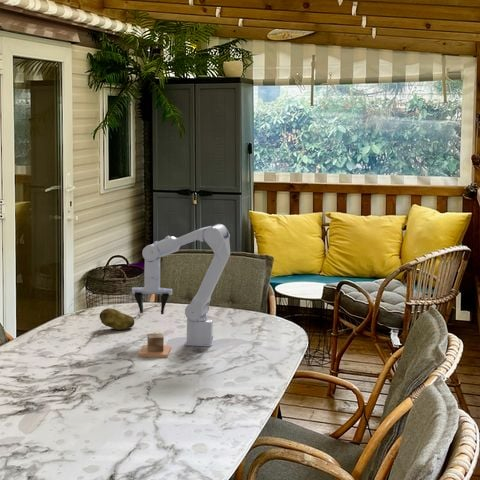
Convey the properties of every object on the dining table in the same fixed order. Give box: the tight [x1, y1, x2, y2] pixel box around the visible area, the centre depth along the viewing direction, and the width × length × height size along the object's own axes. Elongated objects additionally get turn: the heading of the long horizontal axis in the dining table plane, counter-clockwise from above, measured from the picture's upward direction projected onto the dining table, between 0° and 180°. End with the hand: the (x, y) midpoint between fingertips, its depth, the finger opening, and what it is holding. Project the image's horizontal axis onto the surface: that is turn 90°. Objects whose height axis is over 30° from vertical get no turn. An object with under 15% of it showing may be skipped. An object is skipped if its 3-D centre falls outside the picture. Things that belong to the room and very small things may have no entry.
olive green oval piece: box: [99, 308, 135, 331], centre depth 284 cm, size 8×13×8 cm, turn 90°
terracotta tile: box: [137, 344, 172, 358], centre depth 258 cm, size 10×10×1 cm
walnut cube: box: [146, 333, 165, 352], centre depth 257 cm, size 5×5×5 cm
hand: (151, 313), depth 273 cm, fingers open, 7 cm apart
